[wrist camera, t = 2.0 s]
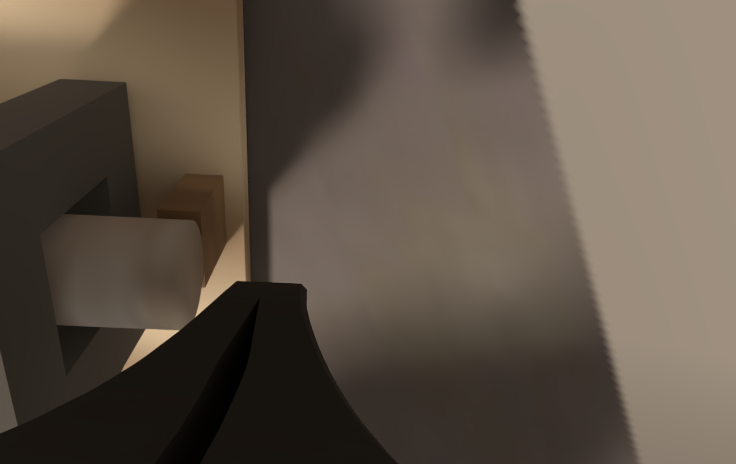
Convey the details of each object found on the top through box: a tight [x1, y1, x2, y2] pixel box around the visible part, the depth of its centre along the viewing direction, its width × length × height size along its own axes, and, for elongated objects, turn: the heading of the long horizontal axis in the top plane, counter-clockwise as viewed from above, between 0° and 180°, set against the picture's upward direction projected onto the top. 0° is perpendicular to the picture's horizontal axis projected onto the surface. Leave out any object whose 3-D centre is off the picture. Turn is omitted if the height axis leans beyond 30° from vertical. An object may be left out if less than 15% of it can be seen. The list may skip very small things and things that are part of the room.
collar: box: [0, 79, 145, 433], centre depth 13 cm, size 7×2×7 cm, turn 177°
